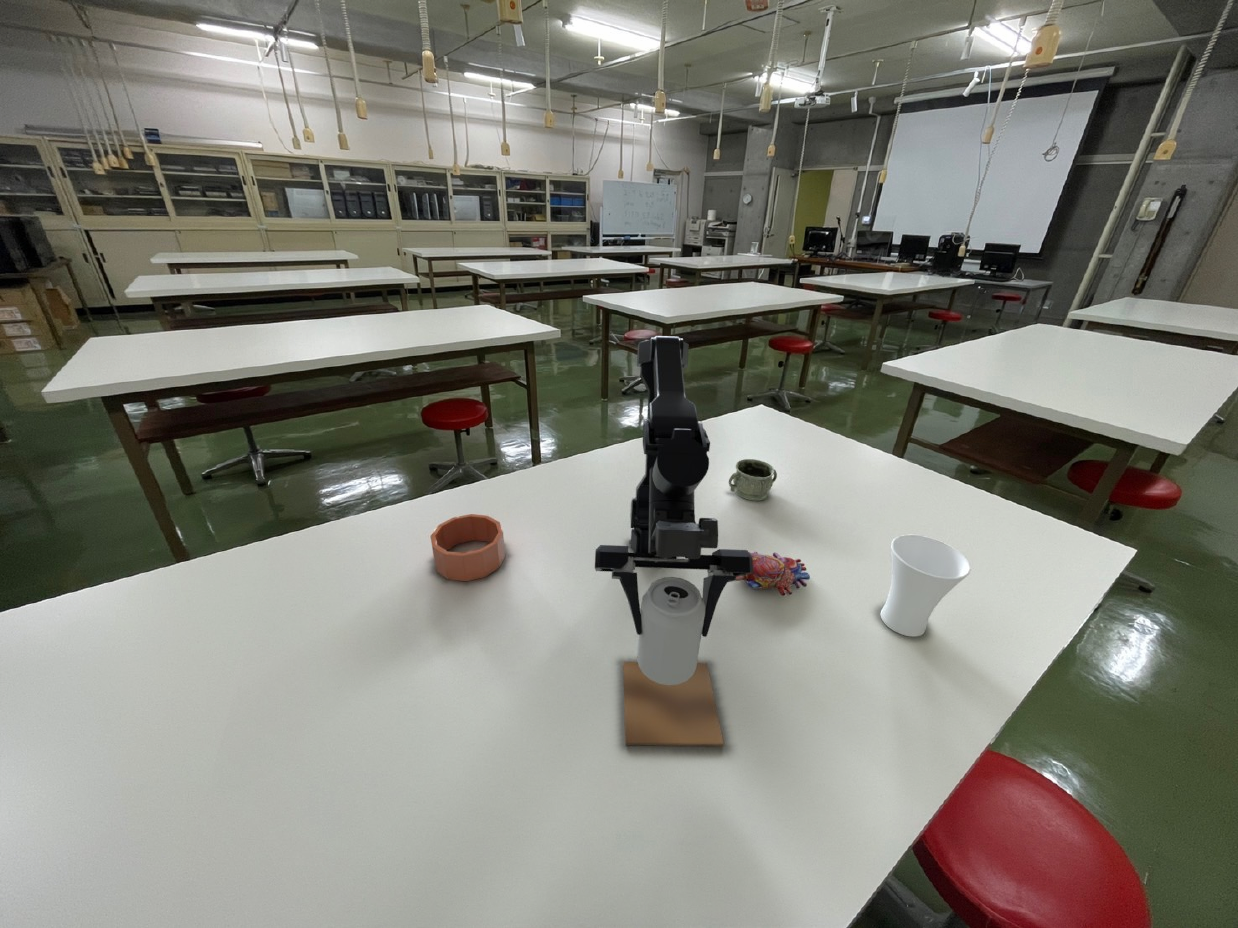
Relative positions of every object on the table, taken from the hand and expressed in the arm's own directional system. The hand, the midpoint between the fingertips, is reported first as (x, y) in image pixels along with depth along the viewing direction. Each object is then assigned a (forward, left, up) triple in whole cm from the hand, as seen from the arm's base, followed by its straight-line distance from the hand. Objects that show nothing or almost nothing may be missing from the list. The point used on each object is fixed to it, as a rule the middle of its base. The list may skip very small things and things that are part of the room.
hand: (671, 635), depth 59 cm
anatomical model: (-29, -16, -14) cm, 36 cm away
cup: (-43, 0, -13) cm, 45 cm away
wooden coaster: (-1, -1, -13) cm, 13 cm away
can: (-1, -1, -7) cm, 7 cm away
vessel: (-44, -42, -13) cm, 62 cm away
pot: (+19, -40, -13) cm, 46 cm away
